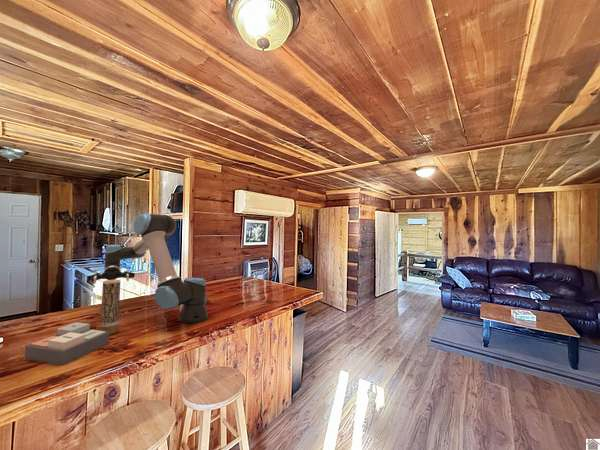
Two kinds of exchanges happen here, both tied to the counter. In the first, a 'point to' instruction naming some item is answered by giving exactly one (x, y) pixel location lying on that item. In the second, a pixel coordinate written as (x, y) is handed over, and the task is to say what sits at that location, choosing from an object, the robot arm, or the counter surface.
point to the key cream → (66, 341)
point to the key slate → (73, 328)
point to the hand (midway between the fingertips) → (111, 279)
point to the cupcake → (206, 296)
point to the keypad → (65, 351)
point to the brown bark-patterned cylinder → (110, 306)
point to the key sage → (93, 334)
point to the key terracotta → (43, 342)
